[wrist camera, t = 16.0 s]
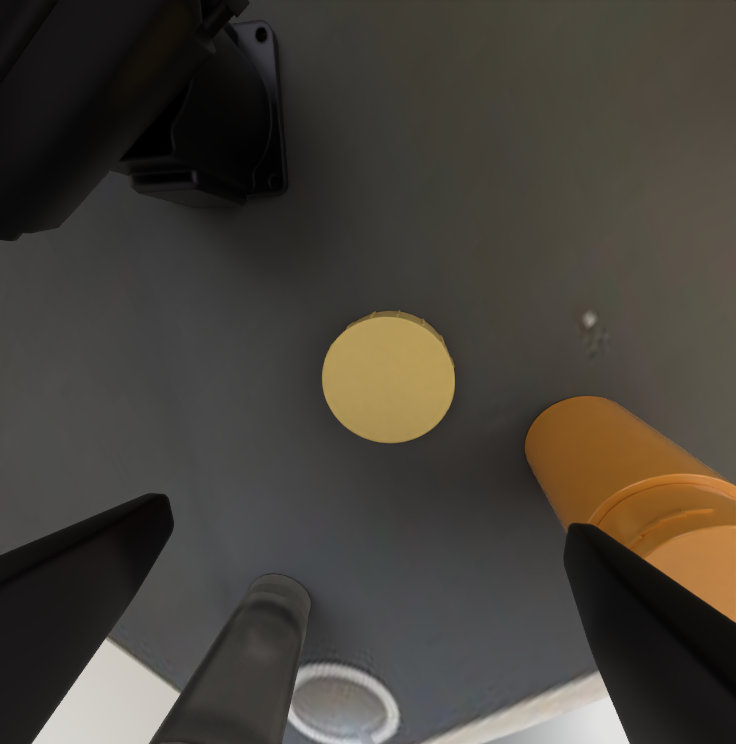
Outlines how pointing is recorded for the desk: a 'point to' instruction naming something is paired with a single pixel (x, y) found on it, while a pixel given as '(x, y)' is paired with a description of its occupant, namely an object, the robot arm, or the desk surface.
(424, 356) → the honey lid
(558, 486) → the honey jar
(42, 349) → the desk surface
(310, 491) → the desk surface
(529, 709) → the desk surface
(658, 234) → the desk surface
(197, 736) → the beverage cup
